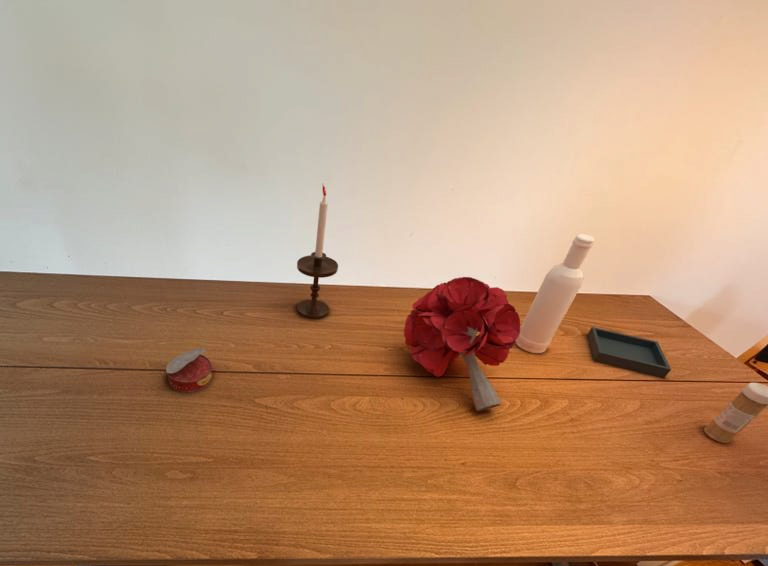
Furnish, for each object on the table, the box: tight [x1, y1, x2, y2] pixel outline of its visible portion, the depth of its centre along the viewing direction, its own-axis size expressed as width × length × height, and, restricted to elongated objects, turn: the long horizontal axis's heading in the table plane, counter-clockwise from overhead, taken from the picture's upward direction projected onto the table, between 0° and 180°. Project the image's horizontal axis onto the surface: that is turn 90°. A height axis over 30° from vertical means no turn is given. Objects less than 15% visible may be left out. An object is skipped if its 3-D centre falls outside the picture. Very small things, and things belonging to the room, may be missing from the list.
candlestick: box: [296, 184, 339, 320], centre depth 109 cm, size 11×11×35 cm
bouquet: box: [403, 276, 521, 412], centre depth 94 cm, size 22×24×30 cm
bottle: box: [515, 233, 595, 354], centre depth 102 cm, size 8×8×30 cm
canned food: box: [165, 347, 213, 393], centre depth 94 cm, size 11×10×10 cm
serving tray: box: [586, 326, 672, 379], centre depth 109 cm, size 16×13×3 cm
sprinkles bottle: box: [703, 382, 768, 444], centre depth 85 cm, size 5×5×14 cm
